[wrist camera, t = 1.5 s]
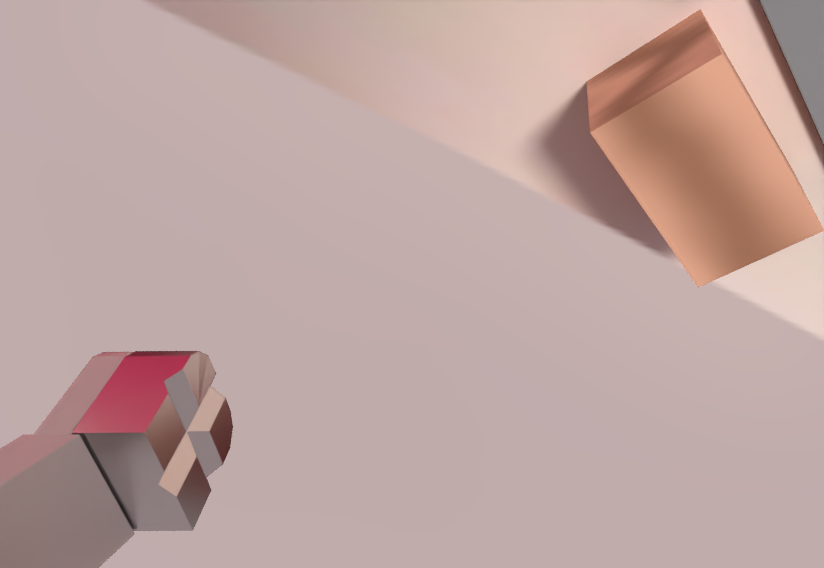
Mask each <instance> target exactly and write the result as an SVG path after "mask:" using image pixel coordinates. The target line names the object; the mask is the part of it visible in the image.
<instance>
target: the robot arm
mask: <svg viewBox="0 0 824 568" xmlns="http://www.w3.org/2000/svg"><path fill="white" fill-rule="evenodd" d="M215 375H216V372H215V370H214V368H213V365H212V363H211V361H210V359H209V356H208V355H206V354H204V353H202V352H200V351H136V352H103V353H101V354H98V355H96V356H94V357H92V359H91V360H90V361H89V363H88V364H87V365H86V366H85V368H84V369H83V371H82V372H81V373H80V374H79V376H78V377H77V378H76V380H75V381H74V382H73V383H72V385H71V386H70V387H69V389H68V390H67V391H66V393H65V394H64V395H63V397H62V398H61V399H60V401H59V402H58V403H57V404H56V406H55V407H54V409H53V410H52V411H51V412H50V414H49V415H48V416H47V418H46V419H45V420H44V421H43V423H42V424H41V425H40V427H39V428H38V429H37V431H36V432H35V433H34V435H22V436H20V437H19V438H17V439H16V440H14V441H12V442H11V443H9V444H8V445H6V446H4V447H2V448H1V449H0V568H99V567H100V566H101V565H102V564H103V563H104V562H105V561H106V560H107V559H109V557H111V556H112V555H113V554H114V553H115V552H116V551H117V550H118V549H119V548H120V547H121V546H122V545H123V544H125V542H127V541H128V540H129V539H130V538H131V537H132V536H133V535H134V531H159V530H160V531H163V530H164V531H174V530H175V531H176V530H193V529H194V527H195V525H196V522H197V520H198V518H199V516H200V514H201V511H202V509H203V507H204V505H205V503H206V500H207V498H208V496H209V494H210V492H211V488H210V485H209V482H208V480H207V477H208V476H209V475H210V474H211V473H213V472H214V471H215V470H216V469H217V468H219V467H220V466H222V465H223V463H224V461H225V458H226V456H227V454H228V451H229V449H230V444H231V437H232V428H233V425H232V418H231V411H230V408H229V406H228V403H227V400H226V398H225V397H224V396H223V395H221V394H220V393H219V392H218V391H216V390H215V389H214V388H213V387H211V384H212V382H213V379H214V377H215Z"/></svg>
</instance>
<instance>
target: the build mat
mask: <svg viewBox="0 0 824 568" xmlns="http://www.w3.org/2000/svg"><path fill="white" fill-rule="evenodd" d="M759 1H760V3H761V5H762V8H763V10H764V12H765V14H766V17H767V19H768V21H769V23H770V26H771V28H772V30H773V32H774V35H775V37H776V39H777V41H778V44H779V46H780V48H781V50H782V53H783V55H784V57H785V59H786V62H787V64H788V66H789V68H790V71H791V73H792V75H793V77H794V80H795V82H796V84H797V86H798V89H799V91H800V93H801V95H802V98H803V100H804V102H805V104H806V107H807V109H808V111H809V113H810V116H811V118H812V120H813V122H814V125H815V127H816V129H817V131H818V134H819V136H820V138H821V140H822V143H823V145H824V0H759Z"/></svg>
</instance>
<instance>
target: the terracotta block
mask: <svg viewBox="0 0 824 568" xmlns="http://www.w3.org/2000/svg"><path fill="white" fill-rule="evenodd" d="M586 83H587V97H588V111H589V125H590V133H591V135H592V136H593V138H594V139H595V140H596V142H597V143H598V145H599V146H600V148H601V149H602V150H603V152H604V153H605V155H606V156H607V158H608V159H609V160H610V162H611V163H612V165H613V166H614V168H615V169H616V170H617V172H618V173H619V175H620V176H621V178H622V179H623V181H624V182H625V183H626V185H627V186H628V188H629V189H630V191H631V192H632V193H633V195H634V196H635V198H636V199H637V201H638V202H639V203H640V205H641V206H642V208H643V209H644V211H645V212H646V213H647V215H648V216H649V218H650V219H651V221H652V222H653V223H654V225H655V226H656V228H657V229H658V231H659V232H660V233H661V235H662V236H663V238H664V239H665V241H666V242H667V244H668V245H669V246H670V248H671V249H672V251H673V252H674V254H675V255H676V256H677V258H678V259H679V261H680V262H681V264H682V265H683V266H684V268H685V269H686V271H687V272H688V274H689V275H690V276H691V278H692V279H693V281H694V282H695V284H696V285H697V286H698V287H700V286H702V285H705V284H707V283H709V282H711V281H713V280H716V279H718V278H720V277H722V276H725V275H727V274H729V273H731V272H733V271H736V270H738V269H740V268H742V267H744V266H747V265H749V264H751V263H753V262H756V261H758V260H760V259H762V258H764V257H767V256H769V255H771V254H773V253H775V252H778V251H780V250H782V249H784V248H787V247H789V246H791V245H793V244H795V243H798V242H800V241H802V240H804V239H806V238H809V237H811V236H813V235H815V234H818V233H820V232H822V231H824V229H823V227H822V226H821V224H820V222H819V220H818V218H817V216H816V214H815V212H814V210H813V208H812V206H811V204H810V202H809V200H808V199H807V197H806V195H805V193H804V191H803V189H802V187H801V185H800V183H799V181H798V179H797V177H796V175H795V174H794V172H793V170H792V168H791V166H790V164H789V163H788V161H787V159H786V157H785V156H784V154H783V152H782V150H781V149H780V147H779V145H778V144H777V142H776V140H775V138H774V137H773V135H772V133H771V131H770V130H769V128H768V126H767V124H766V123H765V121H764V119H763V117H762V116H761V114H760V112H759V110H758V109H757V107H756V105H755V104H754V102H753V100H752V98H751V97H750V95H749V93H748V91H747V90H746V88H745V86H744V84H743V83H742V81H741V79H740V77H739V76H738V74H737V72H736V70H735V69H734V67H733V65H732V63H731V62H730V60H729V58H728V57H727V55H726V53H725V51H724V50H723V48H722V46H721V44H720V43H719V41H718V39H717V37H716V36H715V34H714V32H713V30H712V29H711V27H710V25H709V23H708V22H707V20H706V18H705V16H704V15H703V13H702V11H701V10H698V11H697V12H695V13H694V14H692V15H691V16H689V17H687V18H686V19H684V20H683V21H681V22H680V23H678V24H677V25H675V26H673V27H672V28H670V29H669V30H667V31H666V32H664V33H662V34H661V35H659V36H658V37H656V38H655V39H653V40H651V41H650V42H648V43H647V44H645V45H644V46H642V47H640V48H639V49H637V50H636V51H634V52H633V53H631V54H629V55H628V56H626V57H625V58H623V59H622V60H620V61H618V62H617V63H615V64H614V65H612V66H611V67H609V68H607V69H606V70H604V71H603V72H601V73H600V74H598V75H596V76H595V77H593V78H592V79H590V80H589V81H587V82H586Z"/></svg>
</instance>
